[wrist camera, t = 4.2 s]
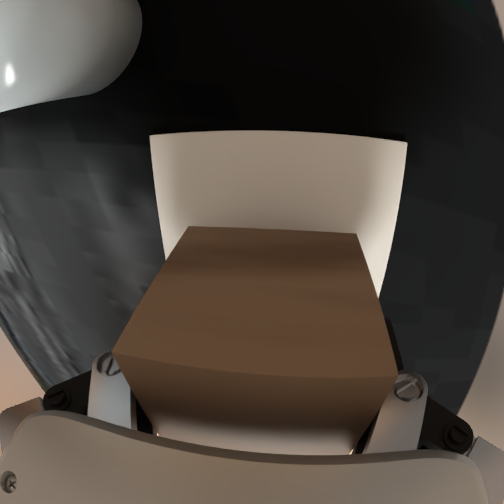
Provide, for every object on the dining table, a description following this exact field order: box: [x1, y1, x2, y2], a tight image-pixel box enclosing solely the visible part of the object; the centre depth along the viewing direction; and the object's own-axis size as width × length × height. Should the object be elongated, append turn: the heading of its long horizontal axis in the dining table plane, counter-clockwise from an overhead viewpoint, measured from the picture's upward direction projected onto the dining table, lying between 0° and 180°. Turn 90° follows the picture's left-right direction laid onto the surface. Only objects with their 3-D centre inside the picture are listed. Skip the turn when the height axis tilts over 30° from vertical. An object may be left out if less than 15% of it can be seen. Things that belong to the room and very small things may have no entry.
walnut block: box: [111, 226, 399, 455], centre depth 10 cm, size 6×6×6 cm
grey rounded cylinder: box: [0, 0, 142, 112], centre depth 6 cm, size 6×6×6 cm
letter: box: [150, 130, 407, 297], centre depth 14 cm, size 14×10×1 cm
